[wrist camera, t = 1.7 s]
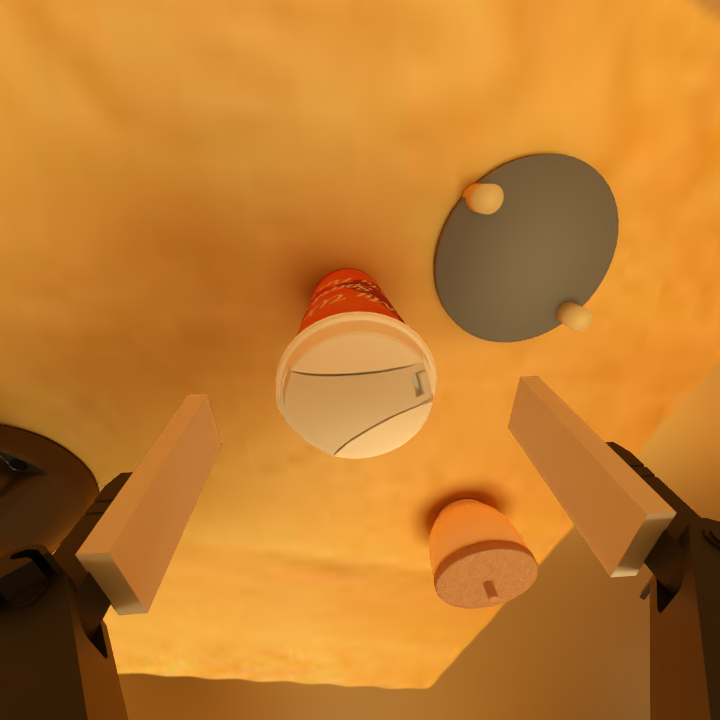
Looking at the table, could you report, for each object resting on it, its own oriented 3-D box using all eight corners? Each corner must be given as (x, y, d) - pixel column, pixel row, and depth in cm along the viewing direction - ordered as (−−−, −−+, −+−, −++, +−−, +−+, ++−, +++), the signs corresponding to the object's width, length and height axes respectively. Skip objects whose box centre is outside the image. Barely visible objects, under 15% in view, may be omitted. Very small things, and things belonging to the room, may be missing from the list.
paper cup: (379, 239, 25) (424, 297, 13) (403, 329, 29) (457, 441, 16) (282, 273, 26) (235, 358, 13) (318, 356, 29) (307, 484, 17)
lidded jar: (413, 543, 43) (432, 629, 35) (426, 485, 38) (451, 569, 30) (492, 541, 44) (529, 624, 36) (515, 484, 39) (563, 565, 31)
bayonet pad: (427, 342, 29) (436, 357, 27) (442, 157, 23) (455, 154, 20) (580, 334, 30) (602, 347, 28) (638, 152, 23) (673, 148, 21)
